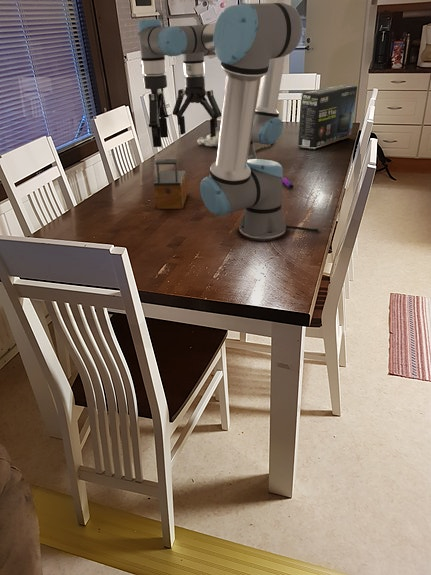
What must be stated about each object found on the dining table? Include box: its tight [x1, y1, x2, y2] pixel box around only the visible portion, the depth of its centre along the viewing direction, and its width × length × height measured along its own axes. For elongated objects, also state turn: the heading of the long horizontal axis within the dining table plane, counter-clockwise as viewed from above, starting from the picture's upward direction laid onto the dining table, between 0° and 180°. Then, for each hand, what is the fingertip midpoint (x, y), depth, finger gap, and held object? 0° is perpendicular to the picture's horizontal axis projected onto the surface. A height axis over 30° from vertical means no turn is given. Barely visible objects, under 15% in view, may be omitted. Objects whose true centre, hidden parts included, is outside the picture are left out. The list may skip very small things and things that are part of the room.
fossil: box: [196, 130, 220, 149], centre depth 250 cm, size 18×11×15 cm
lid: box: [153, 158, 186, 187], centre depth 169 cm, size 15×10×9 cm, turn 176°
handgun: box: [283, 176, 294, 190], centre depth 191 cm, size 21×8×2 cm, turn 11°
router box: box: [297, 84, 358, 151], centre depth 238 cm, size 36×11×27 cm, turn 134°
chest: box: [154, 174, 188, 210], centre depth 174 cm, size 14×10×9 cm
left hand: (197, 135), depth 179 cm, fingers open, 13 cm apart
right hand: (161, 141), depth 159 cm, fingers open, 13 cm apart
